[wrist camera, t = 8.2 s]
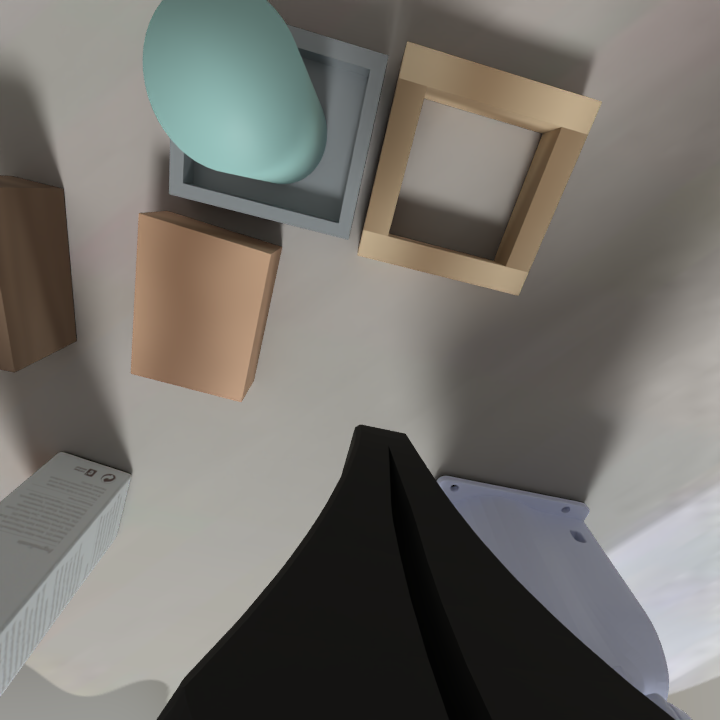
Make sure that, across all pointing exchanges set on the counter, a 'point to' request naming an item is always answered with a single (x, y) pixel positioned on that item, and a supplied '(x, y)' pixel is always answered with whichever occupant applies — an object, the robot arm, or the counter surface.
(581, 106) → the socket block
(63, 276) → the stop block
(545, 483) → the counter surface
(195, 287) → the tan cardboard block
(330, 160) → the tray
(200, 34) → the teal capsule
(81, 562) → the skincare box
